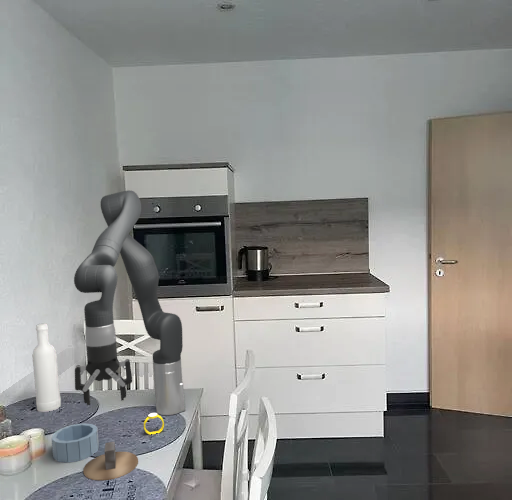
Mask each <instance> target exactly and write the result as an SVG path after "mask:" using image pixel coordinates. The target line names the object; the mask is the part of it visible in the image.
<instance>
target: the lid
mask: <svg viewBox="0 0 512 500" xmlns="http://www.w3.org/2000/svg"><path fill="white" fill-rule="evenodd" d="M138 465H139V459H138V456H137V454H134V453H132V452H129V451H116V443H115V441H110V442H105V444H104V453H103V454H101V455H98V456H96V457H94V458H92V459H91V460H89V461H88V462H87V463H86V464H85V465H84V467H83V475H84V476H85V478H87V479H89V480H93V481H97V482H99V481H110V480H115V478H116V479H118V478H121V476H122V477H124V476H126V475H129V474H130V473H131V472H132V471H134V470H135V469H136V468H137V467H138Z"/></svg>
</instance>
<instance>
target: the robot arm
mask: <svg viewBox="0 0 512 500" xmlns="http://www.w3.org/2000/svg"><path fill="white" fill-rule="evenodd" d="M100 209H101V213H102V216H103V218H104V221H105V223H106V225H107V227H106V228H105V229H104V230H103V231H102V232H101V233H100V234H99V236H98V237H97V239H96V240H95V243H94V246H93V248H92V251H91V253H90V254H89V255H87V257H86V258H85V259H84V260H83V261H82V262H81V263H80V265H79V266H78V267H77V268H76V271H75V273H74V277H73V282H74V283H73V284H74V286H75V288H76V290H77V291H79V292H80V293H82V294H83V293H84V294H90V293H91V294H92V293H101V296H100V298H99V299H97V300H93V301H90V302H87V303H86V304H85V305H84V309H83V310H84V323H85V333H84V334H85V335H84V337H85V339H84V342H85V350H86V361H87V362H86V363H87V364H86V365H80V364H77V365H76V366H75V369H74V389H75V390H76V391H81V392H83V393H82V395H83V402H84V404H86V406H90V405H91V393H90V392H91V391H90V387H91V386H92V384H93V383H94V382H95V381H97V382H101V381H110V380H111V379H113V380H114V381H115V382H116V383H117V384H119V389H120V390H119V391H120V401H122V402H123V401H124V400H125V399H126V398H127V386H128V385H129V384H132V383H133V373H132V367H131V359H129V358H126V359H125V360H122V361H119V359H118V349H117V336H116V328H115V324H114V310H113V309H114V299H115V293H116V289H117V285H118V277H119V276H118V273H117V270H116V269H115V266H116V264H117V262H118V259H119V256H121V259H122V261H123V265H124V268H125V271H126V273H127V277H128V278H129V281H130V284H131V286H132V288H133V292H134V294H135V297H136V300H137V302H138V306H139V308H140V312H141V317H142V321H143V325H144V329H145V332H146V333H147V335H148V336H149V337H150V338H152V339H153V340H159V343H160V346H159V349H157V350H155V351H154V352H153V354H152V364H153V378H154V393H155V395H154V397H155V409H156V413H157V414H158V415H160V416H172V415H173V416H174V415H176V414H179V413H181V412H186V410H185V409H186V406H185V405H186V404H185V392H184V391H185V390H184V381H183V372H182V369H183V367H182V359H181V355H182V352H183V325H182V324H183V323H182V320H181V318H180V316H179V315H178V314H176V313H172V312H164V311H163V309H162V306H161V304H160V302H159V298H158V287H159V279H160V277H159V276H160V275H159V271H158V268H157V265H156V262H155V258H154V256H153V255H152V254H151V252H150V251H148V249H146V247H144V246H143V244H141V243H140V242H138V241H137V240H136V239H135V238H133V237H132V235H131V234H130V233H131V231H132V230H133V228H134V226H135V225H136V223H137V221H138V220H139V219H140V216H141V213H142V201H141V198H140V197H139V195H138V194H137V193H136V192H135V191H134V190H129V189H127V190H123V191H118V192H115V193H111V194H107V195H104V196H102V198H101V199H100ZM120 367H121V368H122V370H125V374H126V378H123V376H122V375H121V374H120V372H118V370H119V368H120ZM85 371H86V372H87V373H88V375H89V376H88V378H87V380H86V382H85V383H84V384H83V383H82V375H83V374H84V372H85Z"/></svg>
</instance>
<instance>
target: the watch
mask: <svg viewBox="0 0 512 500" xmlns="http://www.w3.org/2000/svg"><path fill="white" fill-rule="evenodd" d="M157 418H159V419H160V420H161V422H162V424H161V428H159V429H158V430H156V431H149V430H148V429H147V428H146V423H148V421H149V420H152V419H153V420H154V419H157ZM164 427H165V422H164V418H163V417H162V415H161V414H158V413H157V412H151V413H149V414H148V416H147V417H146V418H145V420H144V421H143V430H144V432H145V433H146V434H148V435H149V436H151V434H152V435H156V433H158V434H160V433H162V432H163V430H164Z"/></svg>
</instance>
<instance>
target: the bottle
mask: <svg viewBox="0 0 512 500" xmlns="http://www.w3.org/2000/svg"><path fill="white" fill-rule="evenodd" d="M35 330H36V339H37V345H36V346H35V347H34V349H33V351H32V353H31V354H32V358H31V359H32V366H33V367H32V368H33V377H34V378H33V379H34V389H35V398H36V399H35V401H36V402H35V404H36V410H37V412H39V413H49V411H50V412H53V410H54V411H56V410H58V409H60V408H61V406H62V399H61V390H60V379H59V367H58V357H57V356H58V355H57V351H56V347H54V345H53V344H52V343H50V340H49V326H48V323H45V322H44V323H38V324H37V325H36V328H35ZM59 407H60V408H59Z"/></svg>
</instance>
